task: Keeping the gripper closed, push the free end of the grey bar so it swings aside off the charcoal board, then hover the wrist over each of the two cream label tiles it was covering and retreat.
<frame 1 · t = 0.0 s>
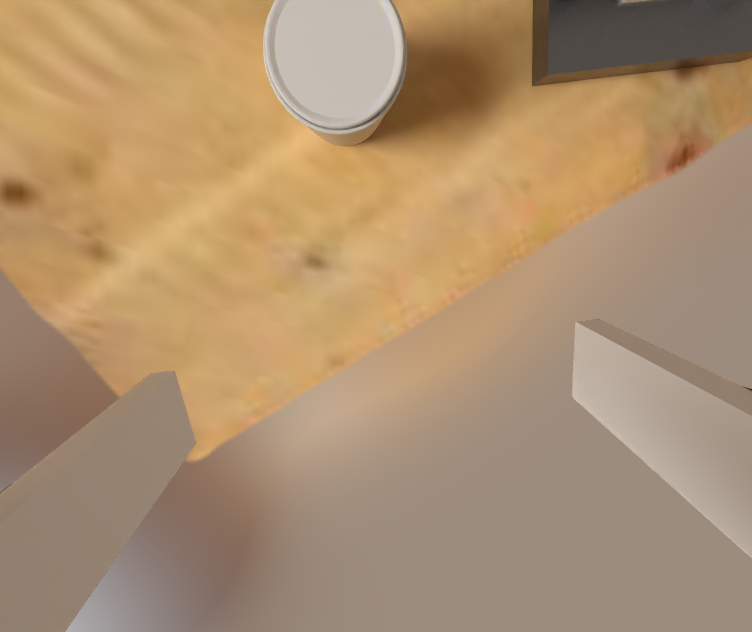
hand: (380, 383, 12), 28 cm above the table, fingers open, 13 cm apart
coffee cup: (343, 102, 35), on the table
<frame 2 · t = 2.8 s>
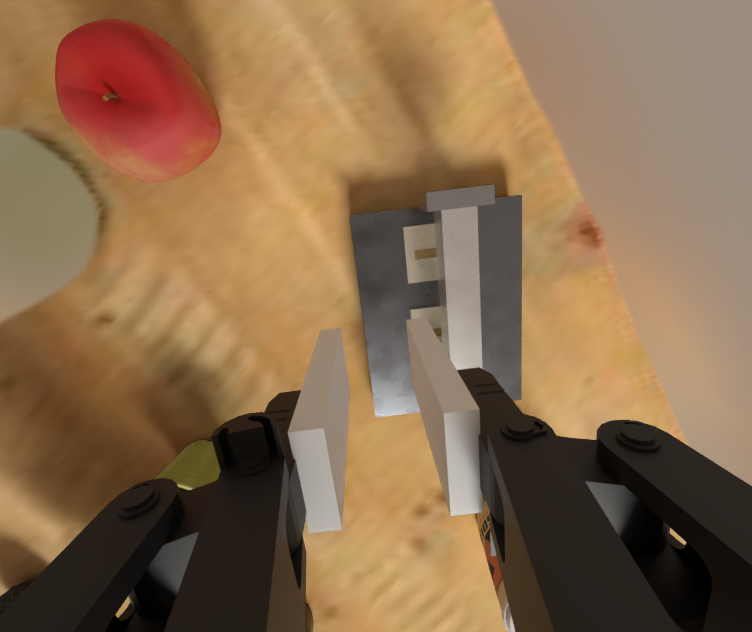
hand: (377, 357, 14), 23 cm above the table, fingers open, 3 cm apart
plant pot: (210, 460, 42), on the table
apple: (182, 126, 32), on the table
mate gourd: (44, 590, 46), on the table
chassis: (436, 307, 37), on the table
coffee cup: (506, 513, 46), on the table
grey bar: (460, 332, 28), point 10 cm above the table, hinge at 0.0°
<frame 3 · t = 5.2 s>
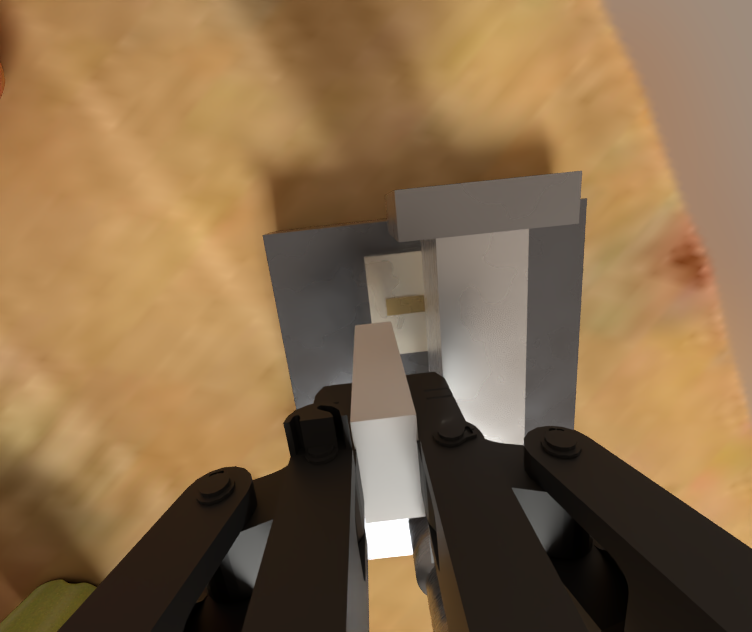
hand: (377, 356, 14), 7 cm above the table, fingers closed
plant pot: (78, 605, 27), on the table
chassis: (428, 382, 22), on the table
grey bar: (474, 488, 13), point 10 cm above the table, hinge at -0.5°, touching gripper
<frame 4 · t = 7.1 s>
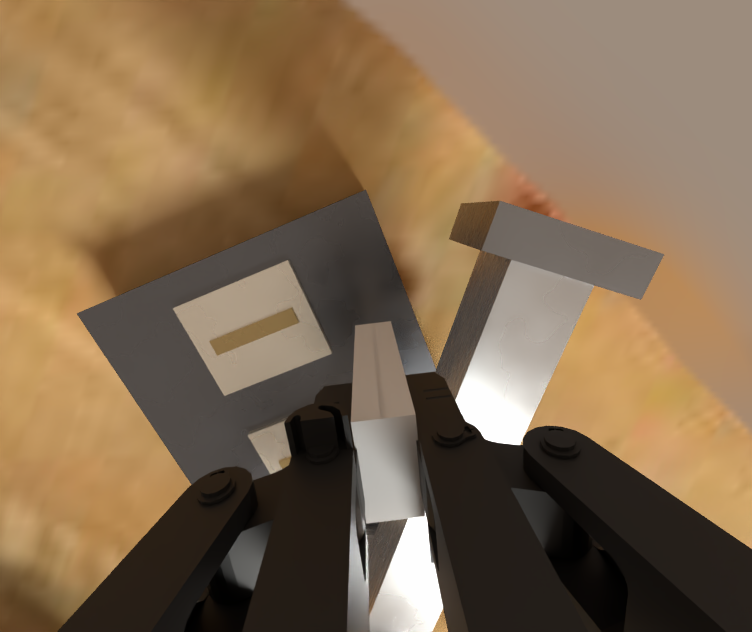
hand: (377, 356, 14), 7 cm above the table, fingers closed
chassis: (315, 399, 22), on the table
grey bar: (430, 508, 13), point 9 cm above the table, hinge at -38.7°, touching gripper
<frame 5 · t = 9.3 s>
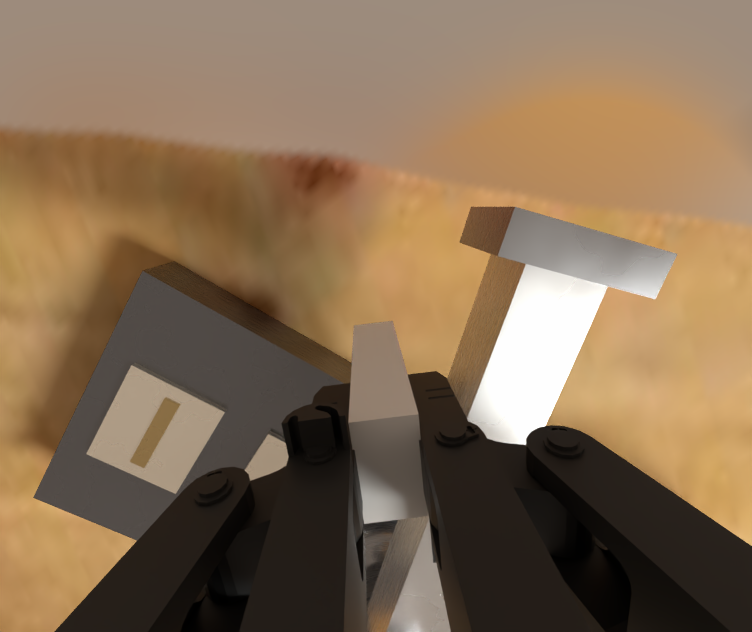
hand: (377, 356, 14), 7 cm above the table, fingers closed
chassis: (272, 445, 23), on the table
grey bar: (448, 508, 13), point 10 cm above the table, hinge at -71.9°
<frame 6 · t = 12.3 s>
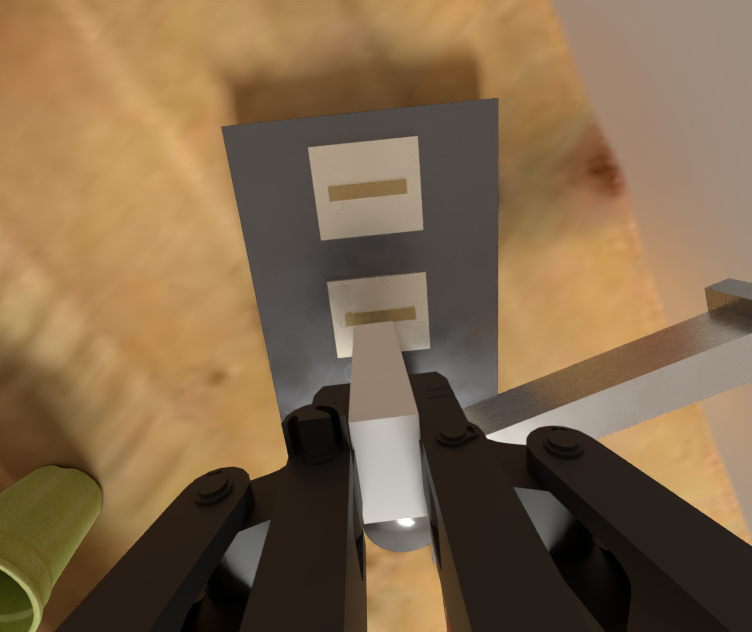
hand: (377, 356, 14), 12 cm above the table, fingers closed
plant pot: (69, 492, 30), on the table
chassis: (376, 282, 25), on the table
grey bar: (557, 410, 18), point 9 cm above the table, hinge at -71.9°
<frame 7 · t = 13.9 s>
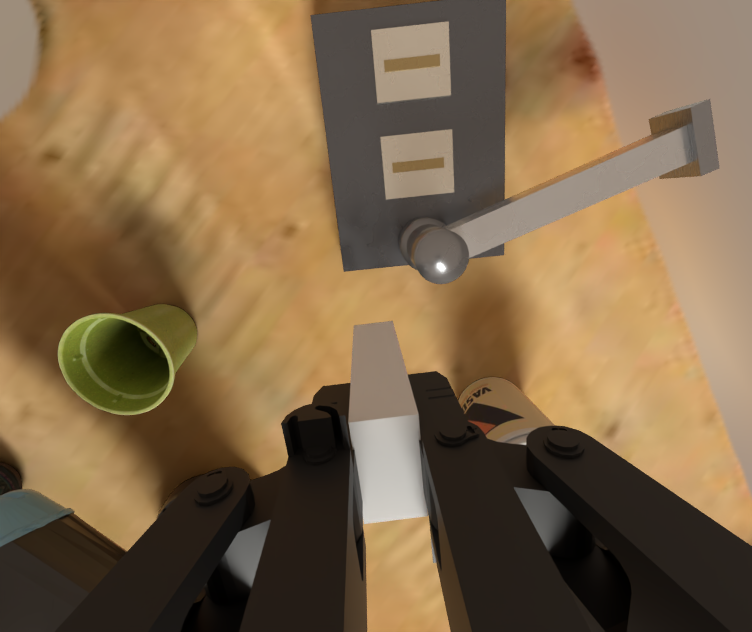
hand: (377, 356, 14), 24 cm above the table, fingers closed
plant pot: (170, 330, 39), on the table
mate gourd: (3, 474, 44), on the table
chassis: (412, 151, 34), on the table
coffee cup: (488, 405, 42), on the table
grey bar: (545, 202, 26), point 10 cm above the table, hinge at -71.9°
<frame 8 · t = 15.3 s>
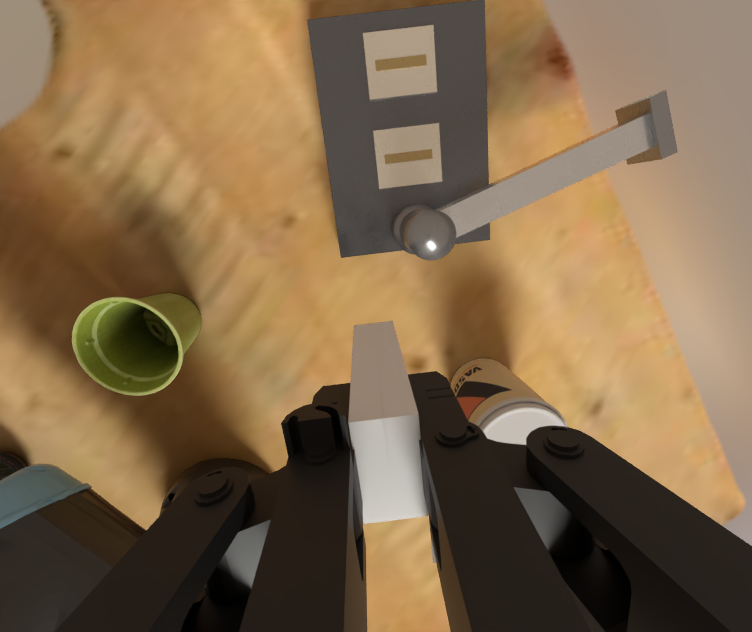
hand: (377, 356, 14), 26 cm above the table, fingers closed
plant pot: (175, 319, 41), on the table
mate gourd: (11, 465, 45), on the table
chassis: (403, 144, 36), on the table
coffee cup: (480, 386, 45), on the table
grey bar: (524, 186, 29), point 9 cm above the table, hinge at -71.9°
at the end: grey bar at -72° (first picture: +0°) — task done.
